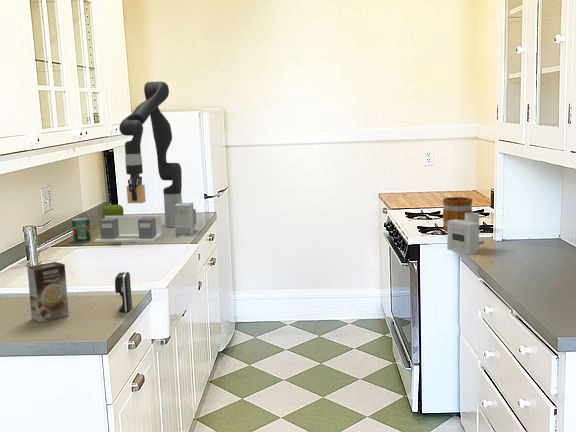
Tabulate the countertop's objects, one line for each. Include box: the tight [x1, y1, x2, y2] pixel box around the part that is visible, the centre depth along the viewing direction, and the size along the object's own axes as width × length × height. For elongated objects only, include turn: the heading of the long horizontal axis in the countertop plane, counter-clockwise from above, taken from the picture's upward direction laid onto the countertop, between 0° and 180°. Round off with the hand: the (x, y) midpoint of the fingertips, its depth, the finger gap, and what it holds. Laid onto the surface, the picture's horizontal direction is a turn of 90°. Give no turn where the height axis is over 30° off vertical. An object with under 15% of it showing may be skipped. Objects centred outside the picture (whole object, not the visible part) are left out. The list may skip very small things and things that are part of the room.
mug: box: [442, 196, 473, 233], centre depth 305 cm, size 20×14×15 cm
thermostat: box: [446, 212, 485, 256], centre depth 262 cm, size 12×14×15 cm
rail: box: [97, 235, 156, 239], centre depth 304 cm, size 4×27×1 cm, turn 84°
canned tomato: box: [71, 217, 92, 244], centre depth 303 cm, size 8×8×11 cm
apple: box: [102, 203, 125, 219], centre depth 351 cm, size 11×11×11 cm
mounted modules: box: [99, 218, 156, 238], centre depth 304 cm, size 6×25×8 cm, turn 84°
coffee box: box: [26, 261, 70, 323], centre depth 192 cm, size 9×6×16 cm
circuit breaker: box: [174, 202, 197, 237], centre depth 315 cm, size 8×14×15 cm, turn 174°
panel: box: [94, 214, 163, 243], centre depth 306 cm, size 15×28×10 cm, turn 84°
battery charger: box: [114, 271, 133, 313], centre depth 198 cm, size 7×4×11 cm, turn 5°
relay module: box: [126, 184, 147, 204], centre depth 300 cm, size 5×7×8 cm
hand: (136, 199), depth 300 cm, fingers closed on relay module, 5 cm apart
